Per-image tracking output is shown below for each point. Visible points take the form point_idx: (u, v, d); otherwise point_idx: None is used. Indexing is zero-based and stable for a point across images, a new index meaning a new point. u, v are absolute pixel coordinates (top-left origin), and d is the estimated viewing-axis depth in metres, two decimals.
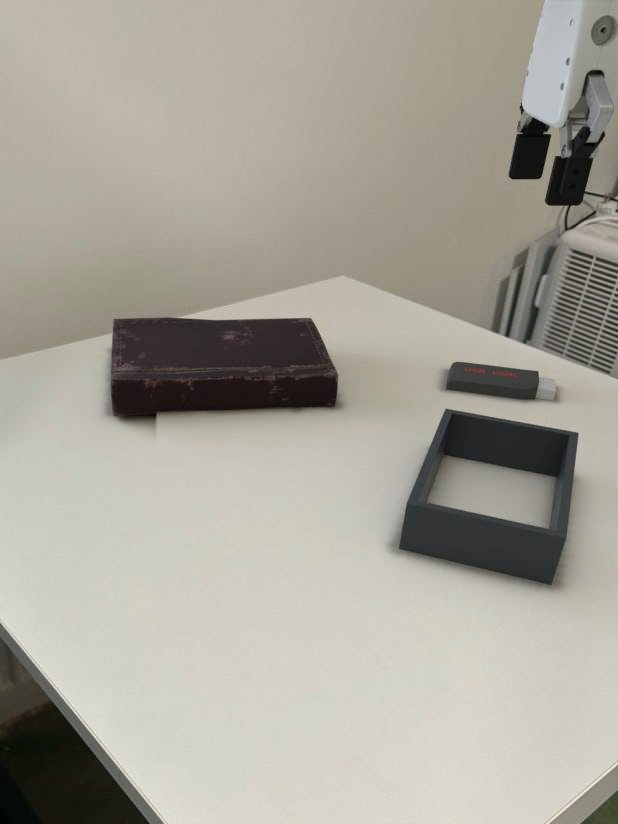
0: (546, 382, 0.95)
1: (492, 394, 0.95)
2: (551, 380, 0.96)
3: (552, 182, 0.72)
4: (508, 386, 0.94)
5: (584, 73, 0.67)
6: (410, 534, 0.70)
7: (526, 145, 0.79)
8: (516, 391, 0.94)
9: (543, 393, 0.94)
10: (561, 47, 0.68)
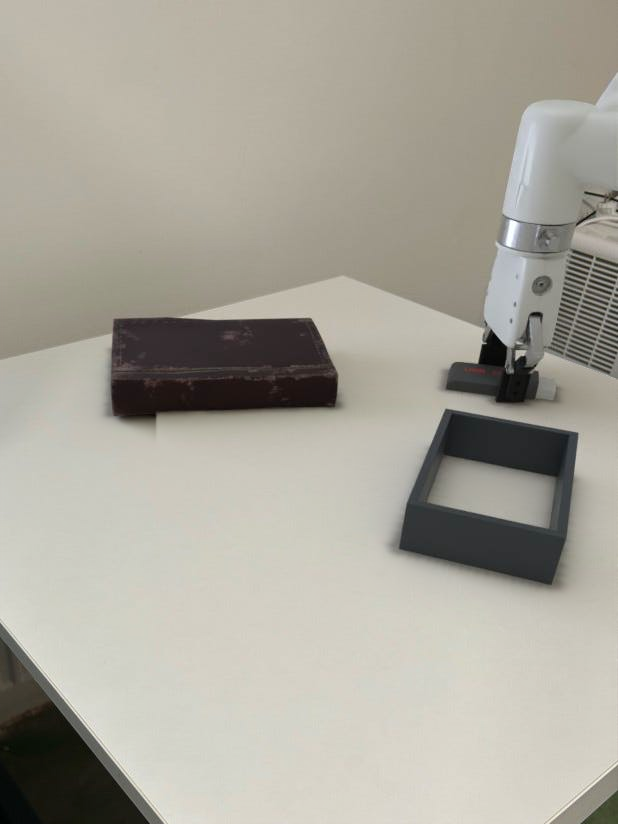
0: (546, 382, 0.95)
1: (492, 394, 0.95)
2: (551, 380, 0.96)
3: (500, 388, 0.93)
4: None
5: (527, 314, 0.87)
6: (410, 534, 0.70)
7: (489, 353, 0.98)
8: None
9: (543, 393, 0.94)
10: (510, 291, 0.88)
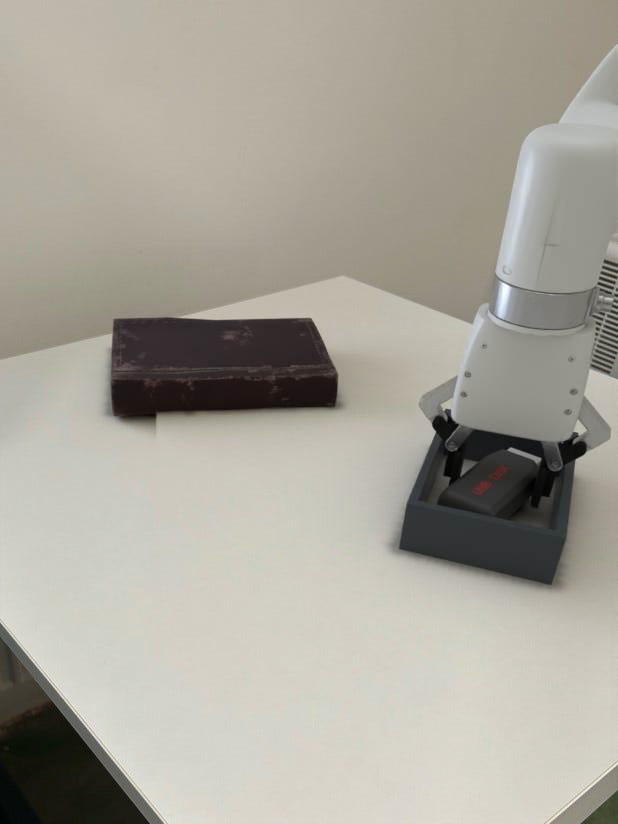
0: None
1: (518, 502, 0.73)
2: (514, 451, 0.78)
3: (541, 491, 0.72)
4: (527, 482, 0.74)
5: (583, 395, 0.67)
6: (410, 534, 0.70)
7: (462, 459, 0.74)
8: (532, 483, 0.74)
9: None
10: (557, 379, 0.65)
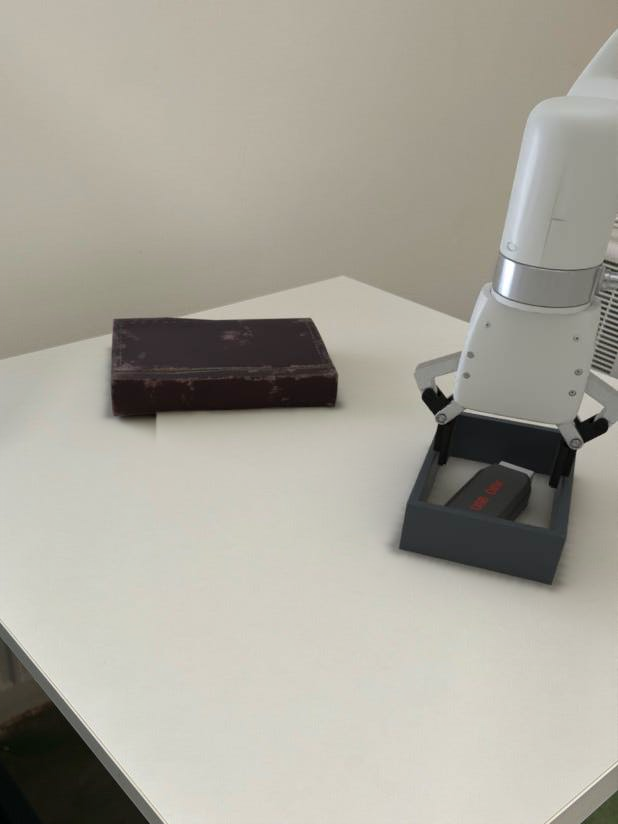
0: None
1: (514, 516, 0.74)
2: (506, 464, 0.79)
3: (561, 470, 0.70)
4: (522, 496, 0.74)
5: (588, 376, 0.65)
6: (410, 534, 0.70)
7: (452, 432, 0.73)
8: (526, 497, 0.75)
9: None
10: (561, 359, 0.64)
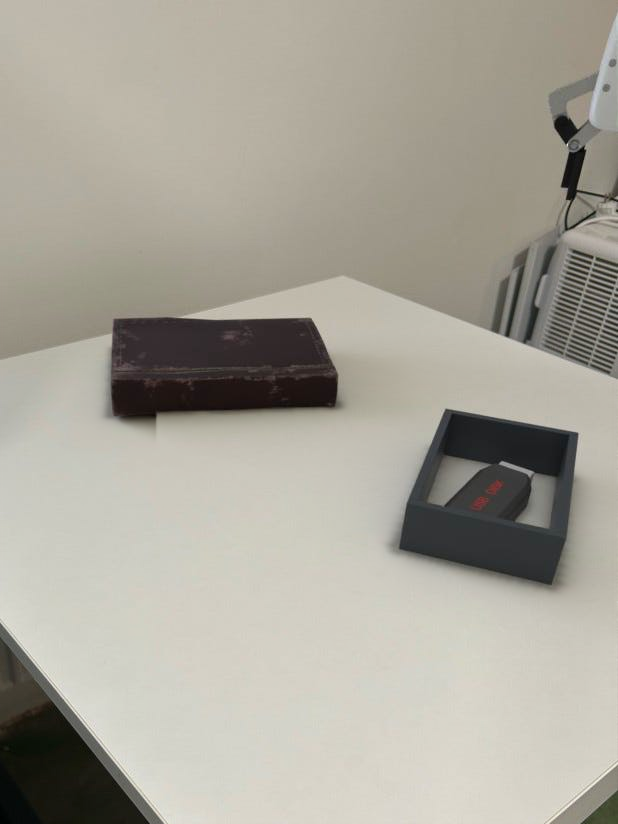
0: None
1: (514, 516, 0.74)
2: (506, 464, 0.79)
3: None
4: (522, 496, 0.74)
5: None
6: (410, 534, 0.70)
7: None
8: (526, 497, 0.75)
9: None
10: None
